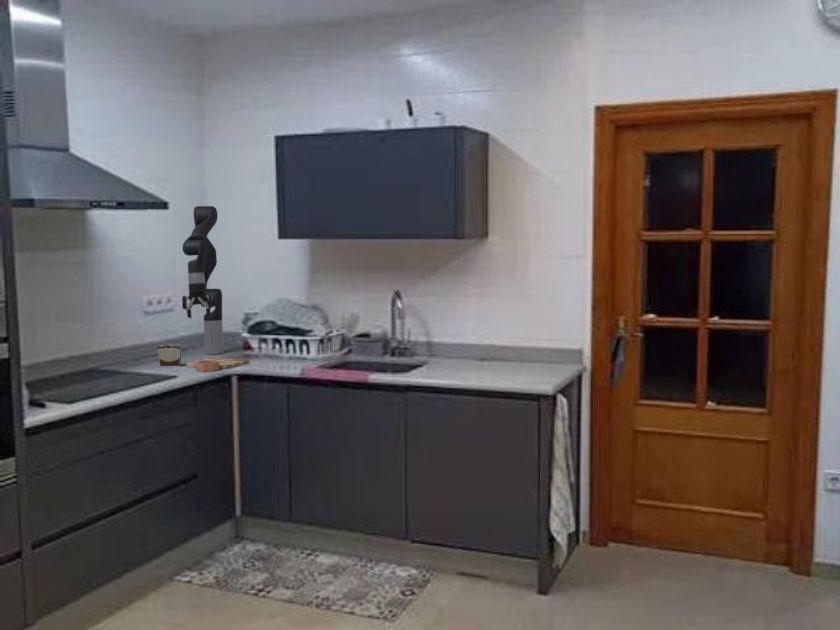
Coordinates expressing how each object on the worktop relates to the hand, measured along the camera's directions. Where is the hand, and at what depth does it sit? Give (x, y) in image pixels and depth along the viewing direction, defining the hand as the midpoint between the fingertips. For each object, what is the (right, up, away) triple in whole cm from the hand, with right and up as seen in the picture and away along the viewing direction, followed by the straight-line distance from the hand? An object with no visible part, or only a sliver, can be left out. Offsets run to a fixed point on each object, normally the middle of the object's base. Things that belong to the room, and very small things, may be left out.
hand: (198, 317), depth 383 cm
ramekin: (+8, -24, -17) cm, 30 cm away
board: (+9, -22, -1) cm, 24 cm away
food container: (-12, -23, -1) cm, 26 cm away
